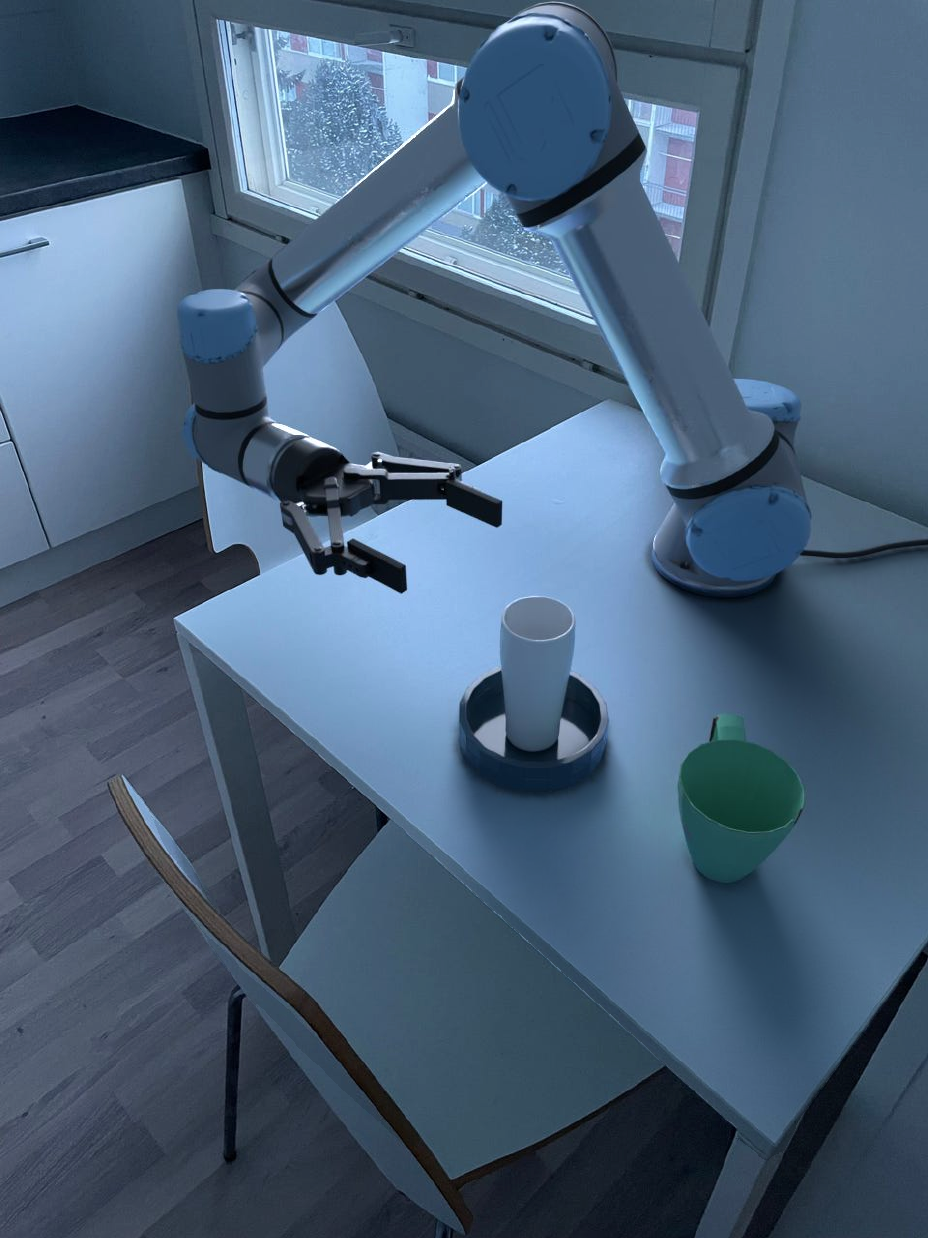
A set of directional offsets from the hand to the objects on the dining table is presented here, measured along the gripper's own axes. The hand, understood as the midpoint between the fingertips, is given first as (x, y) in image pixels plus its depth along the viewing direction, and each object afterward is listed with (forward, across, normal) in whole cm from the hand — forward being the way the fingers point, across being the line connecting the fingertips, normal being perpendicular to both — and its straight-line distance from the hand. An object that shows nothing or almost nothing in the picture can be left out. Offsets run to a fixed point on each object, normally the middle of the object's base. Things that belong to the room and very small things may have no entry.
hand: (454, 545), depth 82 cm
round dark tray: (+10, 0, -19) cm, 21 cm away
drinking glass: (+10, 0, -19) cm, 21 cm away
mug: (+30, -1, -19) cm, 35 cm away
